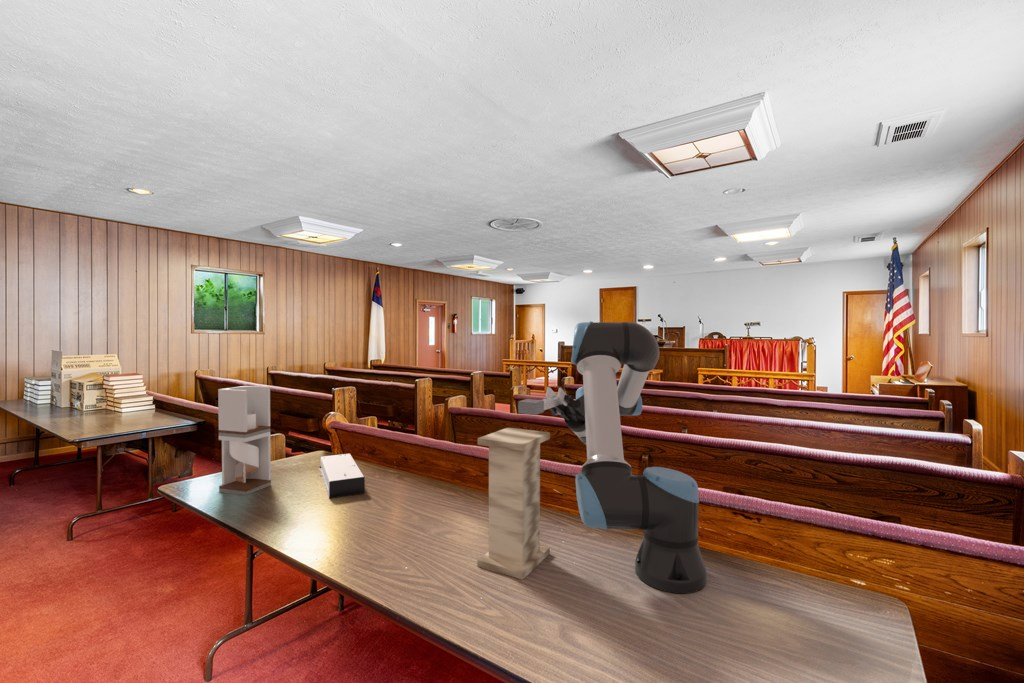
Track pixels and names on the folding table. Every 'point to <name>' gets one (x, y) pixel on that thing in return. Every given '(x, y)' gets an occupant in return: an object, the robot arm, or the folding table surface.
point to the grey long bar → (537, 405)
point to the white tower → (245, 438)
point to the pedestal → (514, 502)
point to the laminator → (341, 475)
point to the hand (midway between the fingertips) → (553, 391)
